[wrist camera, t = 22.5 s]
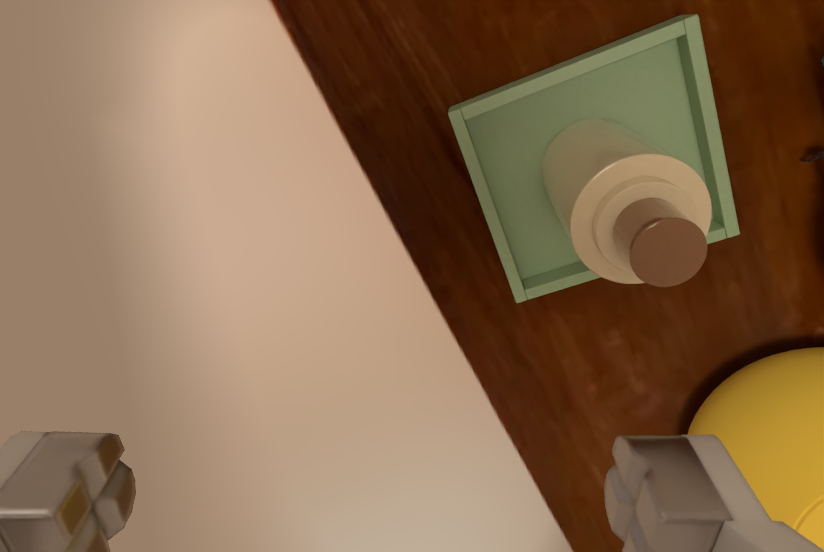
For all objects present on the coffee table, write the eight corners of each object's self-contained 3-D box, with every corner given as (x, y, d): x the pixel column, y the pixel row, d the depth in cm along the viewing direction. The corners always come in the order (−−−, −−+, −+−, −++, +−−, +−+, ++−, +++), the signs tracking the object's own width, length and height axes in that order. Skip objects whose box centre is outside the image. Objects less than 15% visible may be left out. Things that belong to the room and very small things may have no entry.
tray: (513, 287, 41) (516, 304, 39) (448, 107, 37) (447, 113, 34) (723, 221, 38) (740, 234, 36) (681, 14, 33) (698, 13, 31)
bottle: (556, 228, 38) (609, 341, 25) (528, 139, 36) (569, 209, 22) (653, 196, 37) (765, 297, 23) (629, 101, 35) (738, 151, 21)
